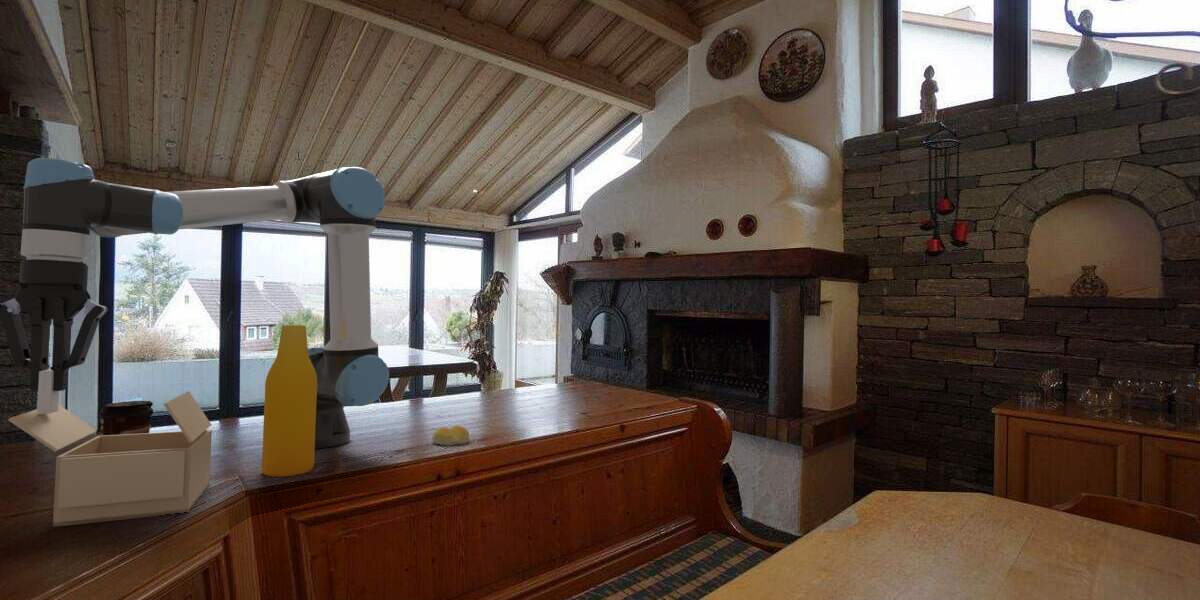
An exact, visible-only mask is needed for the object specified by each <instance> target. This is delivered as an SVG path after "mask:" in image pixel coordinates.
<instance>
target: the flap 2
mask: <svg viewBox="0 0 1200 600" xmlns="http://www.w3.org/2000/svg"><path fill="white" fill-rule="evenodd" d="M163 406H164V407H165V408H166V411H167V412H168V414H169V415H170V416H171V417H172V419H173V421H175V423H176V425H177V426H178V428H179V429H180V430H181V431H182V432H183V434H184V435H185V437H186V438H187V439H188V441H189V442H192V441H194V440H195V439H196V438H197V437H198V436H199V435H201V434H202V433H203V432H204V431H205V430H208V428H210V427H211V426H212V423H211V422H210V420H209V419H208V417H207V415H206V414H205V413H204V411H203V410H202V408H201V407H200V405H199V404H198V402H197V401H196V399H195V397H194V396H193V395H192V393H191V392H190V390H188V391H187V392H184V393H183V394H179V396H177V397H175V398H173V399H170V400H169V401H166V402H165V403H163Z"/></svg>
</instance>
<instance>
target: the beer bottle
mask: <svg viewBox="0 0 1200 600" xmlns="http://www.w3.org/2000/svg"><path fill="white" fill-rule="evenodd" d="M307 335H308V334H307V326H306V325H305V324H301V325H299V324H297V325H296V324H284V325H282V326H281V331H280V336H279V342H278V349H277V354H276V357H275V358H274V361H273V363H272V364H271V366H270V367H269V370H268V372H267V375H266V379H265V383H264V384H265V385H264V404H263V406H264V407H263V429H262V430H263V432H262V452H261V472H262V474H263V475H264V476H267V477H273V478H282V477H283V478H284V477H293V476H298V475H303V474H306V473H308V472H310V471H312V470H313V469H314V466H315V460H316V457H315V456H316V454H315V453H316V452H315V449H316V448H315V426H316V400H317V376H316V372H315V369H314V367H313V365H312V363H311V361H310V358H309V355H308V348H309V347H308V337H307Z"/></svg>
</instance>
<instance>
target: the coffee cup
mask: <svg viewBox="0 0 1200 600" xmlns="http://www.w3.org/2000/svg"><path fill="white" fill-rule="evenodd" d="M153 405H154V403H153V402H152V401H151V400H129V401H118V402H112V403H108V404H106V405H105V406H104V408H103V410H101V411H100V412H99V413H98V414H97V417H98V418H99V421H100V436H105V435H123V434H142V433H150V431H151V427H152V425H151V423H150V422H151V419H152V418H151V416H152V415H153V414H154V409H153V408H152V407H153Z"/></svg>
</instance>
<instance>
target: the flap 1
mask: <svg viewBox="0 0 1200 600" xmlns="http://www.w3.org/2000/svg"><path fill="white" fill-rule="evenodd" d="M8 422H11V423H12V424H13V425H14V426H17V428H19V429H20V430H22V431H24V432H25V433H26V434H28V435H29V436H31V437H32V438H34V439H35V440H37V441H38V442H40V443H41V444H42V445H45V446H46V447H48V448H49V449H50V450H52V451H53V452H54V453H56V452H58V451H59V450H62V449H63V448H66V447H68V446H70V445H73V444H74V443H76V442H78V441H81V440H82V439H85V438H87V437H89V436H91V435H92V434H95V433H96V432H97V430H96V429H95V428H94V427H92V426H90V425H89V424H87V423H86V422H85V421H83V420H82V419H80V418H79V417H78V416H76V414H74V413H72V412H70V411H69V410H68V409H66V408H64V407H63V406H62V405H60V404H59V403H58V411H56V412H54V413H51V414H37V409H33V410H30V411H28V412H25V413H24V412H23V413H21V414H18V415H15V416H12V417H9V418H8Z"/></svg>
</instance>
